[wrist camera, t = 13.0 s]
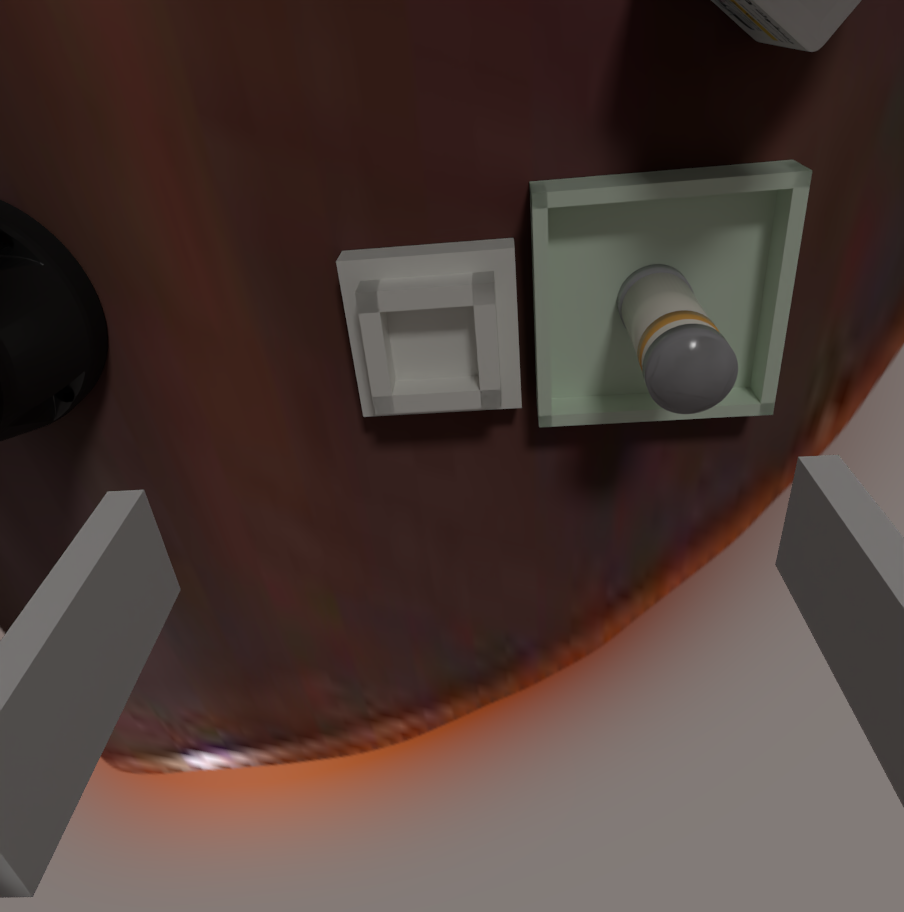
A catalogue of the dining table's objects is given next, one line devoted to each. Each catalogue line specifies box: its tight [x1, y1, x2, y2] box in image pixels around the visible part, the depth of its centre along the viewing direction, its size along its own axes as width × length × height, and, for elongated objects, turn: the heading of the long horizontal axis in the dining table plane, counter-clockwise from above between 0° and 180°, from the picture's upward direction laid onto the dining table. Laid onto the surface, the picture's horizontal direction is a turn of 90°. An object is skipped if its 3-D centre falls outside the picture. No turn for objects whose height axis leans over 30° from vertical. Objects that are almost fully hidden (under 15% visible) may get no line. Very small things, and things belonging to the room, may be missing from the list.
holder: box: [336, 238, 522, 417], centre depth 43 cm, size 10×10×4 cm
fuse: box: [617, 264, 738, 414], centre depth 39 cm, size 4×4×10 cm
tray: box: [529, 160, 812, 427], centre depth 42 cm, size 14×14×3 cm
